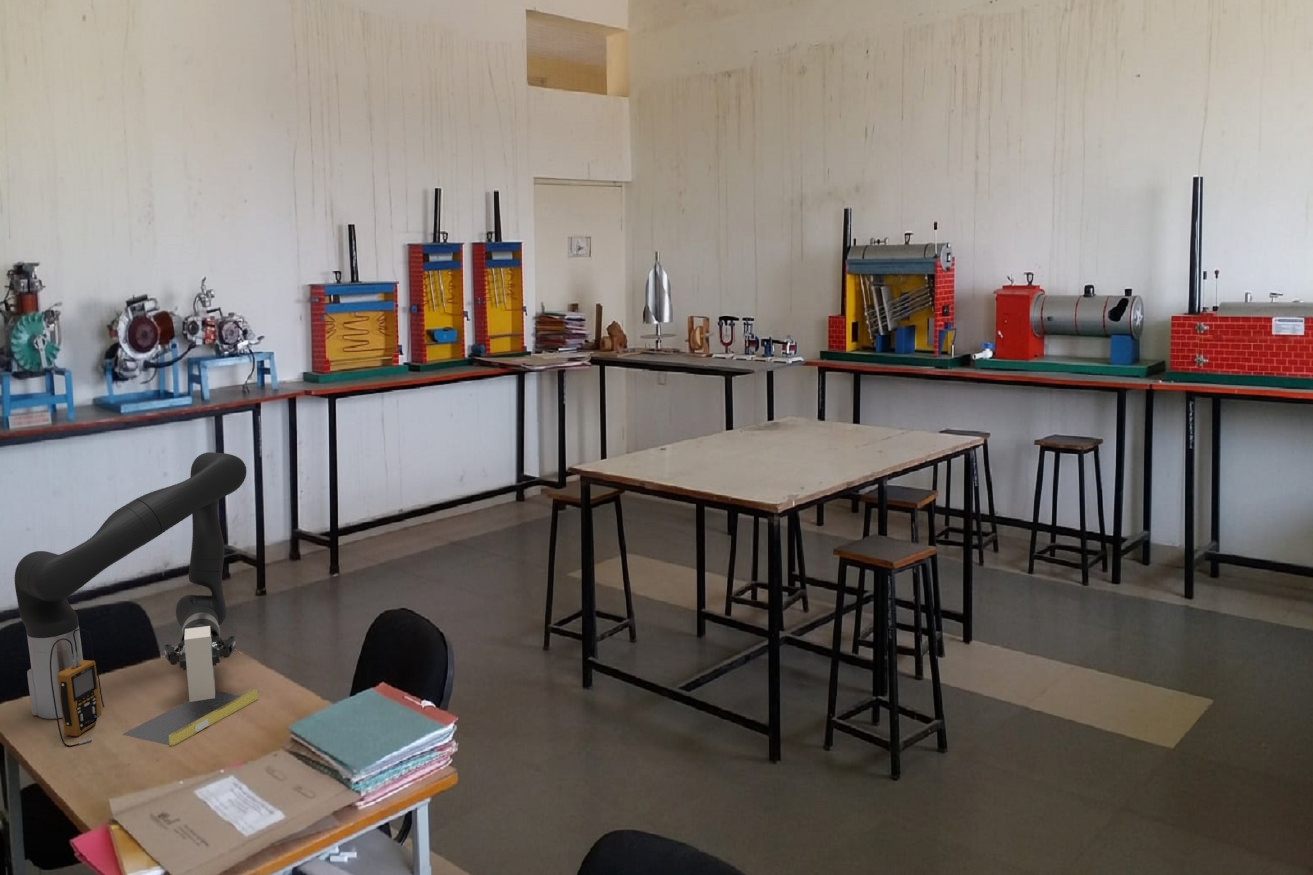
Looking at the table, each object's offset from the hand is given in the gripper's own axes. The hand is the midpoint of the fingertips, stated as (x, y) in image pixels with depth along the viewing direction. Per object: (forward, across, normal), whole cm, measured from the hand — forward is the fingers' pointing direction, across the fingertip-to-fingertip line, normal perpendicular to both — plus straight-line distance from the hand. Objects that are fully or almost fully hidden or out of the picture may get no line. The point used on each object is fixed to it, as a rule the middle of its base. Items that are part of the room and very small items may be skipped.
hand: (199, 663), depth 213 cm
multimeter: (-3, -19, +12) cm, 23 cm away
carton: (-3, 0, +8) cm, 8 cm away
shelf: (+1, -2, +12) cm, 12 cm away
